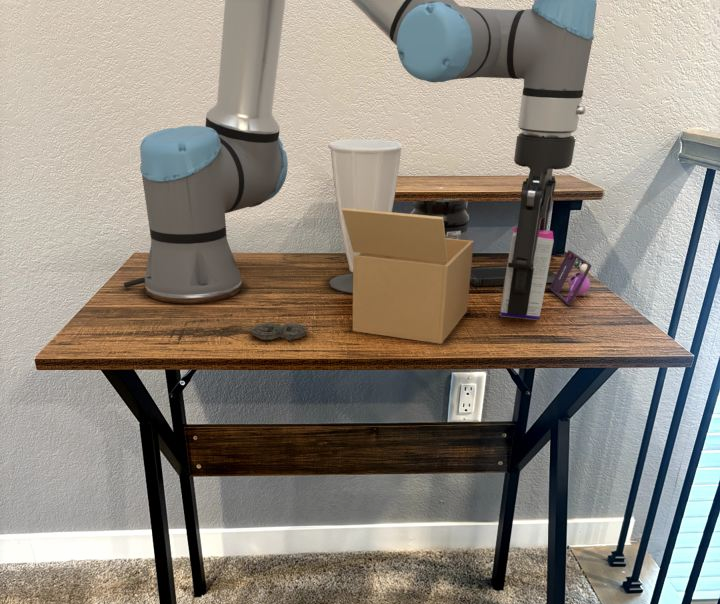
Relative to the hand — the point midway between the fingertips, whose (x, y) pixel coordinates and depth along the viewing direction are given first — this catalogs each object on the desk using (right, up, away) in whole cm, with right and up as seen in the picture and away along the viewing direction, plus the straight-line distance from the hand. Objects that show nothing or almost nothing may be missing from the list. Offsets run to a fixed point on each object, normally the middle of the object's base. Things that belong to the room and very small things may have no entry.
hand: (521, 305), depth 107 cm
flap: (-19, +5, -15) cm, 25 cm away
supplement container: (-10, +14, +27) cm, 32 cm away
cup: (-23, +7, +16) cm, 29 cm away
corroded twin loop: (-35, -6, -6) cm, 36 cm away
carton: (-16, -2, 0) cm, 16 cm away
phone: (+2, +9, +20) cm, 22 cm away
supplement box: (0, -1, +1) cm, 1 cm away
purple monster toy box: (+11, +4, +11) cm, 16 cm away
